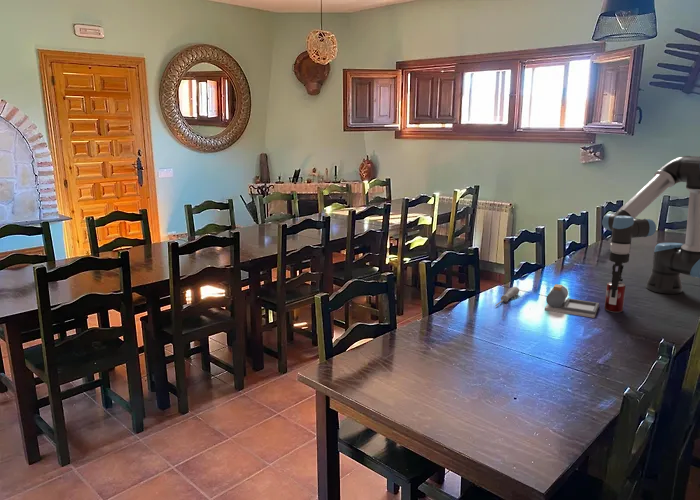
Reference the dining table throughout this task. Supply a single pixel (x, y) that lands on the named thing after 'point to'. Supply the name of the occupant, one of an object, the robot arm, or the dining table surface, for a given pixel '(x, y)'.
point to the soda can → (620, 298)
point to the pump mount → (569, 303)
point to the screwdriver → (509, 294)
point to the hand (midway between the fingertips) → (614, 299)
